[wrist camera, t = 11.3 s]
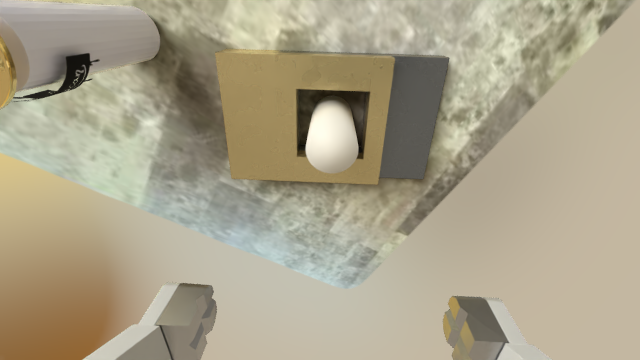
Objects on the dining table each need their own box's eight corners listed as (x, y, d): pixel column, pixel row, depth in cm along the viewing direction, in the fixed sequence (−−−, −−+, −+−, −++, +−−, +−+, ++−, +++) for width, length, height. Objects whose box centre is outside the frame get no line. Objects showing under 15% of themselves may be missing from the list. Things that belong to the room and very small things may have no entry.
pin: (353, 96, 30) (360, 125, 22) (350, 134, 32) (356, 174, 24) (312, 94, 30) (305, 123, 22) (312, 133, 32) (305, 172, 24)
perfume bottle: (93, 23, 27) (-335, 36, 10) (136, -18, 26) (-286, -90, 8) (141, 79, 30) (-136, 171, 12) (183, 44, 28) (-67, 93, 10)
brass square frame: (443, 55, 28) (456, 60, 25) (419, 172, 33) (427, 186, 31) (226, 48, 28) (215, 52, 25) (239, 165, 34) (231, 178, 31)
